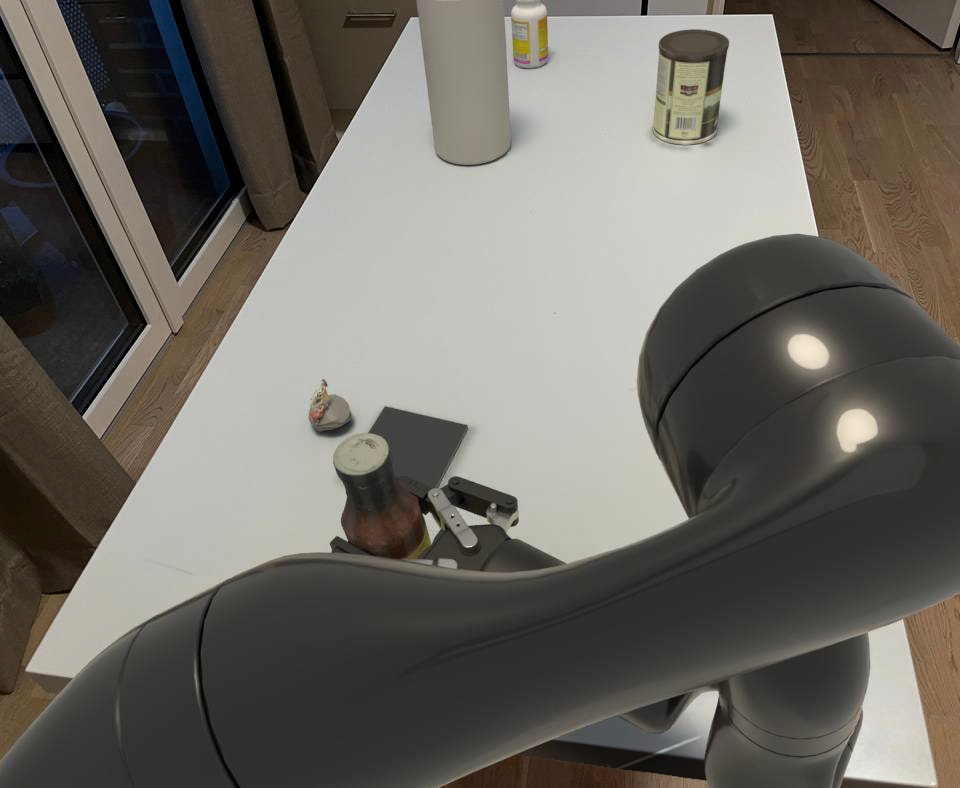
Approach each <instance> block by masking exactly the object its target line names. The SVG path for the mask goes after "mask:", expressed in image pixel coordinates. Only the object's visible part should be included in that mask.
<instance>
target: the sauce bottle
mask: <svg viewBox="0 0 960 788" xmlns="http://www.w3.org/2000/svg"><path fill="white" fill-rule="evenodd" d="M334 450H335V451H334V453H333V456H332V463H333V466H334V469H335V472H336V475H337V477H338V479H340V481H342V483H343V487H344V489H345V494H346V500H345V504H344V509H343V511H342V513H341V517H340V524H341V527H342V530H343V532H344V534H345V537H346V539H347V542H349V543H351V544H353V545H355V546H356V547H358V548H360V549H362V550H363V551H365V552H367V553H369V554H370V555H372V556H379V557H385V558H392V559H400V558H408V559H417V558H418V556H419V555H420V554H421V553H422V552H423V551H424V550H425V549H427V548H428V547H429V546H431V544H432V541H431V537H430V533H429V529H428V526H427V522H426V519H425V517H424V516H425V515H424V514H422V513H421V509H420V505H419V502H418V498H417V497H415V496H414V495H412V494H411V493H410V492H409V491H408V490H406V489H405V488H404V487H403V486H402V485H401V484H400V483H399V482H398V480H397V477H396V475H395V474H394V471H393V466H392V464H393V456H392V453H391V450H390V448H389V445H388V443H387V442H386V440H385V439H384V438H383V437H381V436H378V435H376V434H371V433H368V432H360V433H355V434H352V435H350V436H348V437H346V438H345V439H344V440H342V442H340V443H339V444H338V445H337V447H336V449H334Z"/></svg>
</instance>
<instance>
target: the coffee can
mask: <svg viewBox="0 0 960 788" xmlns="http://www.w3.org/2000/svg"><path fill="white" fill-rule="evenodd" d="M729 46H730V40H729V38H728V37H726V36H725V34H722V33H720V32H717V31H713V30H708V29H700V28H699V29H694V28H693V29H692V28H691V29H681V30H676V31H672V32H669V33H667V34H665V35H664V36H662V37H660V38H659V41H658V60H657V61H658V62H657V74H656V89H655V101H654V113H653V125H652V133H653V135H654V136H655V137H657V139H659V140H661V141H663V142H666V143H669V144H673V145H681V146H682V145H683V146H684V145H686V146H687V145H696V144H701V143H704V142H708V141H709V140H711V139H713V138H714V137H715V136H716V134H717V132H718V122H719V114H720V106H721V99H722V91H723V83H724V76H725V69H726V63H727V55H728V50H729Z"/></svg>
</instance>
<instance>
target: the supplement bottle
mask: <svg viewBox="0 0 960 788" xmlns="http://www.w3.org/2000/svg"><path fill="white" fill-rule="evenodd" d="M515 2H516V4H515V5H514V6H513V7H512V8H511V11H510V20H511V37H512V39H511V40H512V56H513V57H512V58H513V63H514V64H515V65H516V66H517V67H519V68H522V69H535V68H539V67H542V66H544V65H545V64H546V63H547V62H548V61H549V38H548V37H549V36H548V8H547V7H546V5H545V4H543V2H541V0H515Z"/></svg>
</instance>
